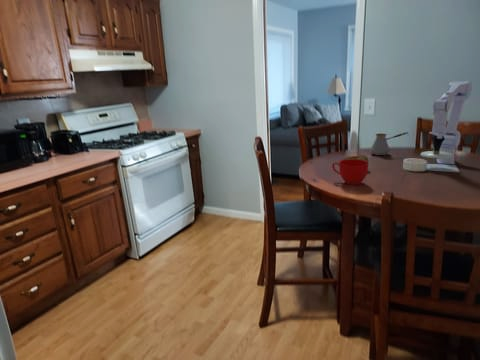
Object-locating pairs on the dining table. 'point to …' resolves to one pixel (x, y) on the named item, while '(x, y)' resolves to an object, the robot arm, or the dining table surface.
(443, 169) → the mat
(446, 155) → the lid
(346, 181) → the ceramic cup
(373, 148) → the coffee pot
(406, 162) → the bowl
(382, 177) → the dining table surface
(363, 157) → the tin
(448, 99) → the robot arm
